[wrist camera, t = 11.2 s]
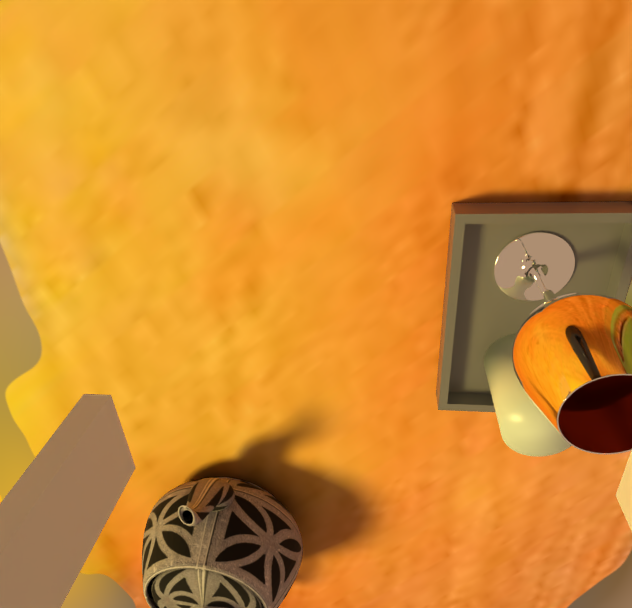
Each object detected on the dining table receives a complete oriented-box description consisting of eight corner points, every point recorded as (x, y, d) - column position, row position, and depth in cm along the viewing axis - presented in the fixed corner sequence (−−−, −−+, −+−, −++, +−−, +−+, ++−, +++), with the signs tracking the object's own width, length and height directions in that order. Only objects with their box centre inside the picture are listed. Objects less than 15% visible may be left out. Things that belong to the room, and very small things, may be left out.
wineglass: (582, 209, 40) (701, 339, 25) (590, 297, 44) (698, 459, 28) (475, 235, 42) (523, 370, 27) (491, 317, 46) (542, 477, 31)
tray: (452, 203, 42) (455, 214, 40) (636, 201, 40) (650, 212, 38) (436, 392, 52) (438, 409, 50) (582, 398, 50) (591, 416, 48)
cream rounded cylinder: (486, 332, 47) (505, 398, 39) (556, 333, 46) (589, 400, 38) (481, 384, 50) (497, 454, 42) (546, 385, 49) (575, 457, 41)
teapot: (303, 422, 57) (278, 547, 44) (309, 584, 72) (292, 711, 60) (138, 410, 59) (68, 526, 46) (178, 570, 74) (135, 689, 62)
